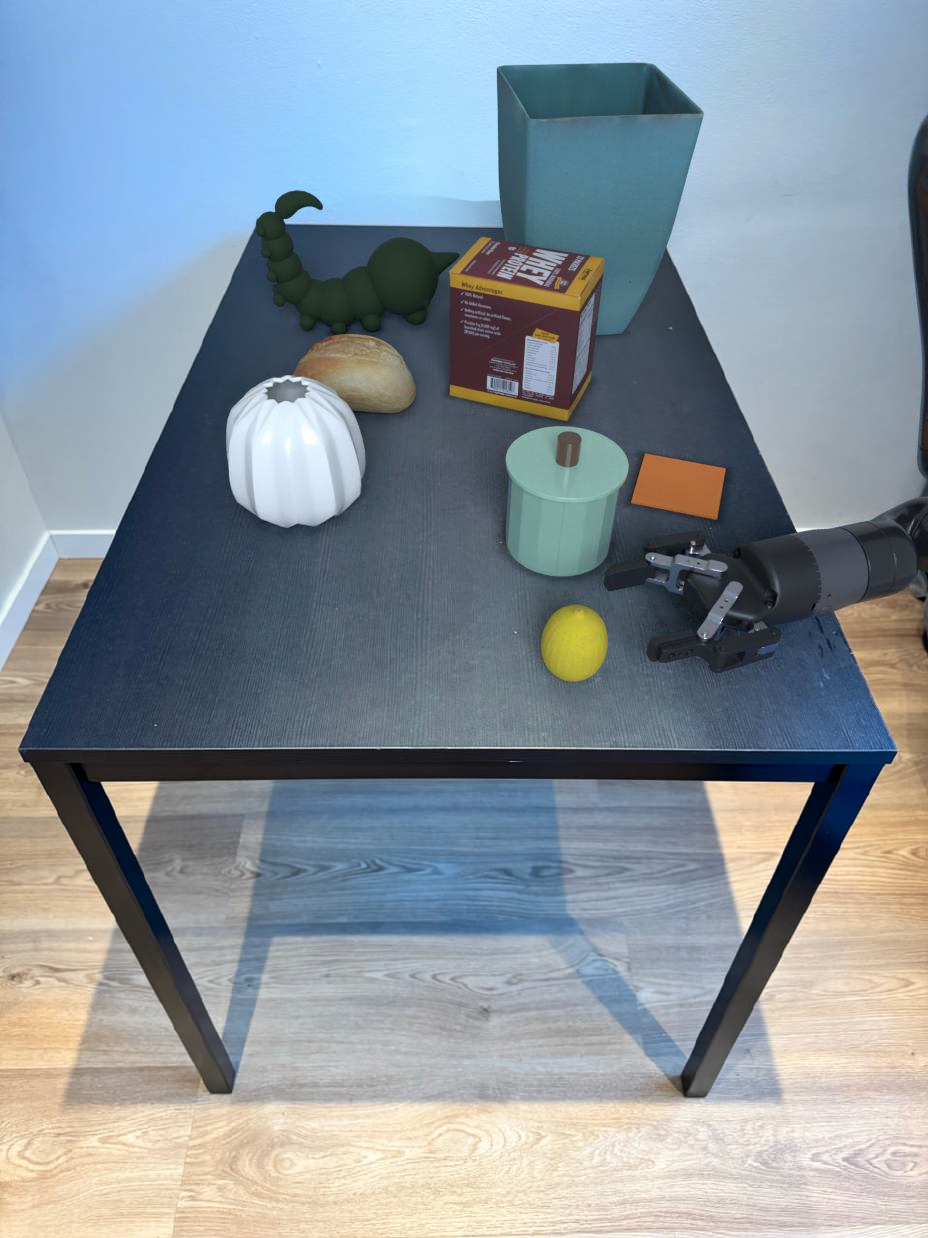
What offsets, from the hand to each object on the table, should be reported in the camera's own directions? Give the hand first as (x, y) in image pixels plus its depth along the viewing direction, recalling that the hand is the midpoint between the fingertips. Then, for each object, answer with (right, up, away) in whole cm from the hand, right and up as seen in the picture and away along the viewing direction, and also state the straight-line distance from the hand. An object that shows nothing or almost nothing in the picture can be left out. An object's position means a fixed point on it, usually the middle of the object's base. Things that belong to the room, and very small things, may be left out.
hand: (627, 614), depth 73 cm
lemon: (-4, -5, +3) cm, 8 cm away
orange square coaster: (+10, +14, +22) cm, 28 cm away
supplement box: (-7, +28, +36) cm, 46 cm away
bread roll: (-27, +25, +33) cm, 49 cm away
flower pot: (+1, +41, +49) cm, 64 cm away
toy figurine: (-27, +40, +47) cm, 67 cm away
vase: (-30, +12, +20) cm, 38 cm away
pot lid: (-4, +14, +9) cm, 17 cm away
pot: (-4, +7, +16) cm, 18 cm away
